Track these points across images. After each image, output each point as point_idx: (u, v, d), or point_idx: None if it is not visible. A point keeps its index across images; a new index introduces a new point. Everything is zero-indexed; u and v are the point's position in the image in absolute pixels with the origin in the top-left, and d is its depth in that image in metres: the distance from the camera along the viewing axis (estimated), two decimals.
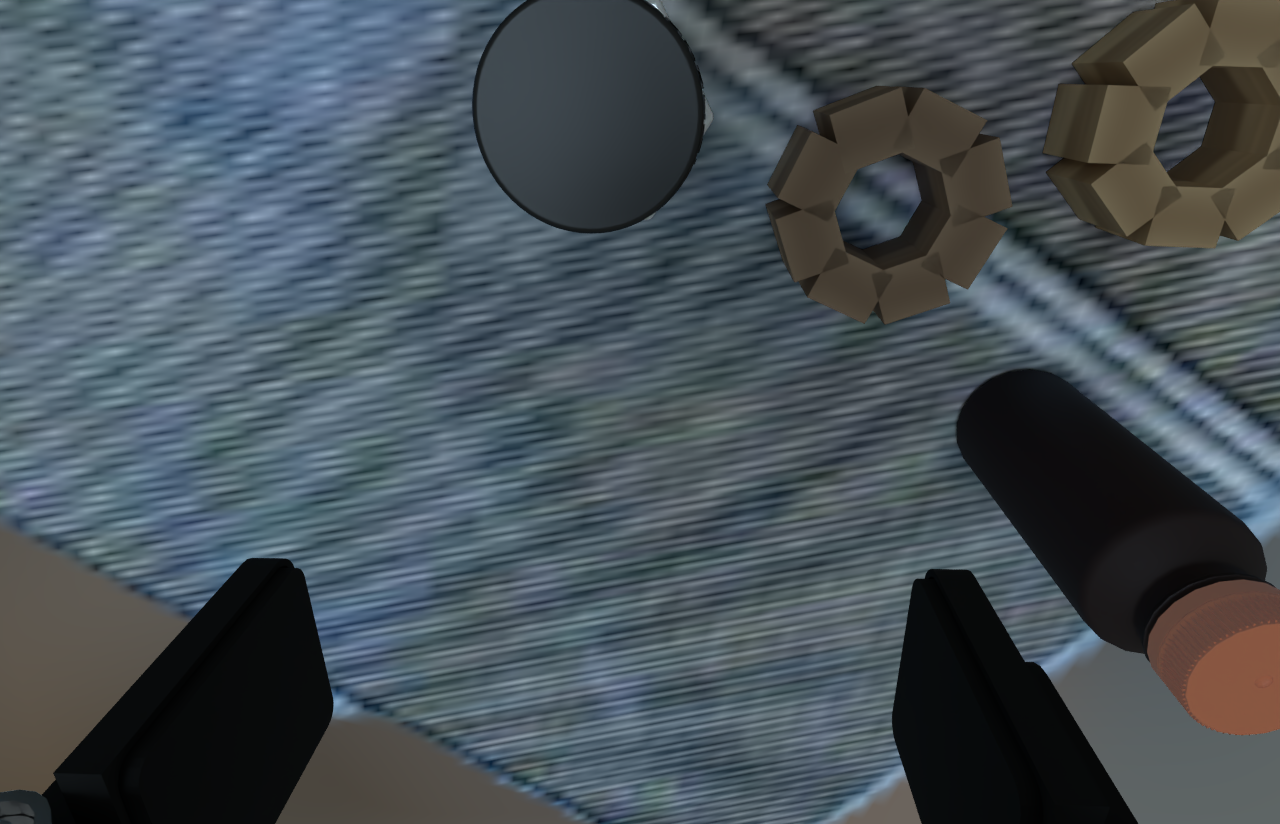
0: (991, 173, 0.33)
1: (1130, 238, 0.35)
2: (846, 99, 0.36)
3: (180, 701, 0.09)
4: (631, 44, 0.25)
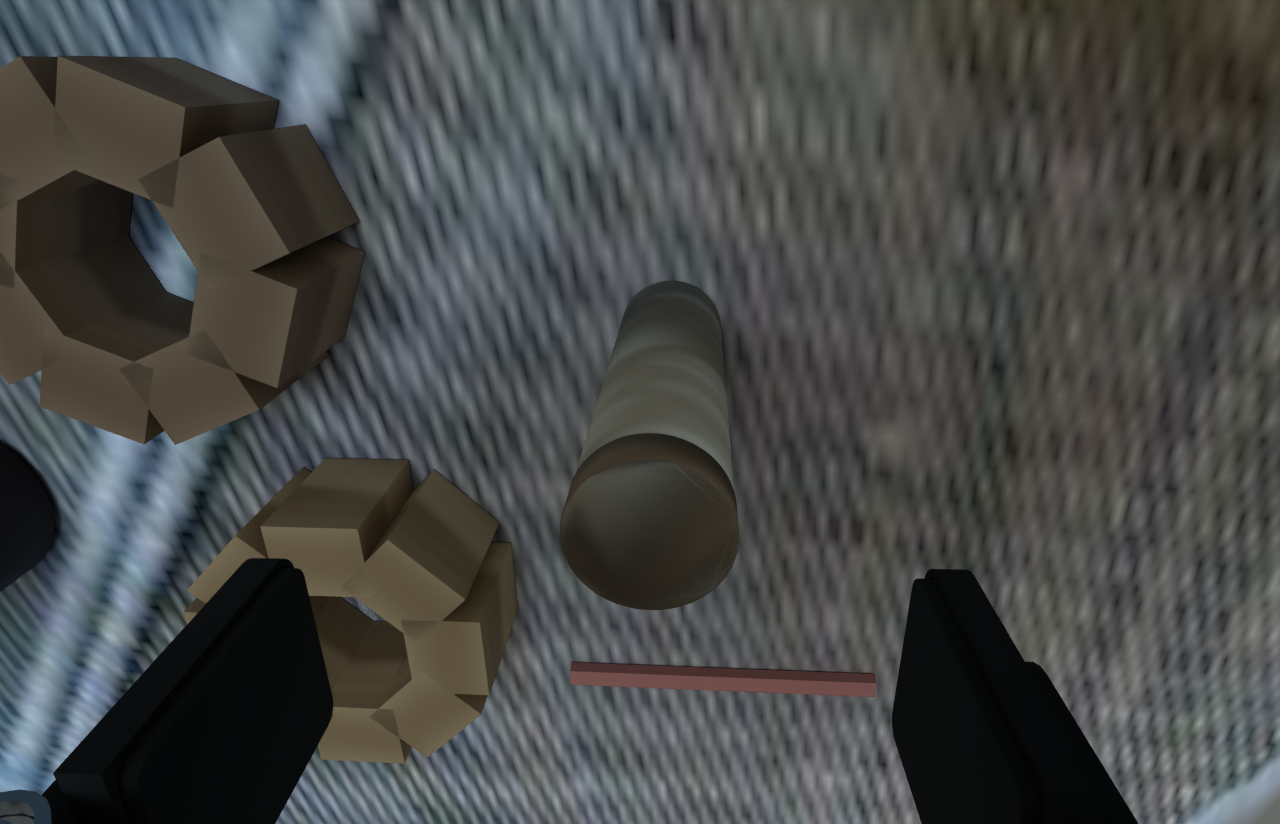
0: (210, 408, 0.22)
1: None
2: (319, 175, 0.22)
3: (180, 701, 0.09)
4: None
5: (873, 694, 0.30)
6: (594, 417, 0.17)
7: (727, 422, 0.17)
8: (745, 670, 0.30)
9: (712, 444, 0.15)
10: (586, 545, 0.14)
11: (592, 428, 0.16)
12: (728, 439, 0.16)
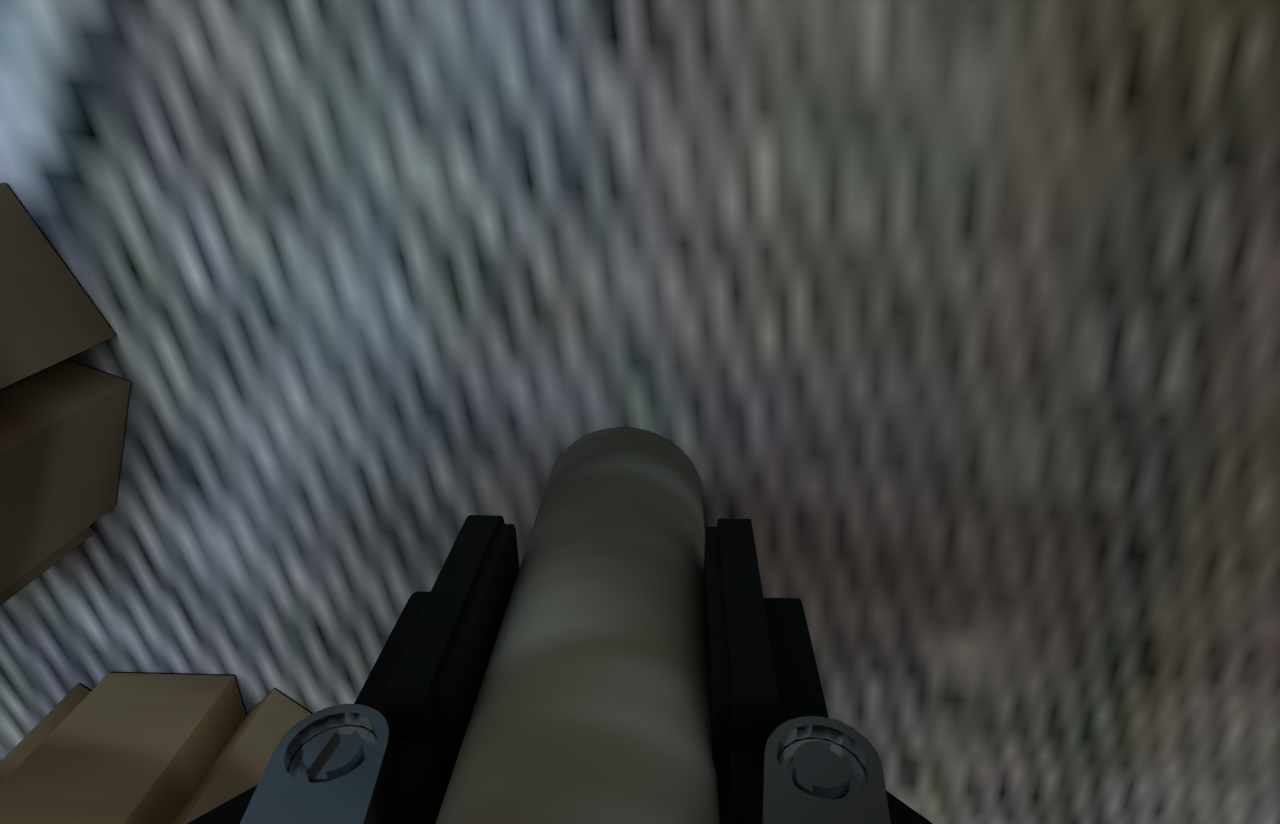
0: None
1: None
2: (24, 269, 0.13)
3: (463, 632, 0.10)
4: None
5: None
6: None
7: None
8: None
9: None
10: None
11: None
12: None
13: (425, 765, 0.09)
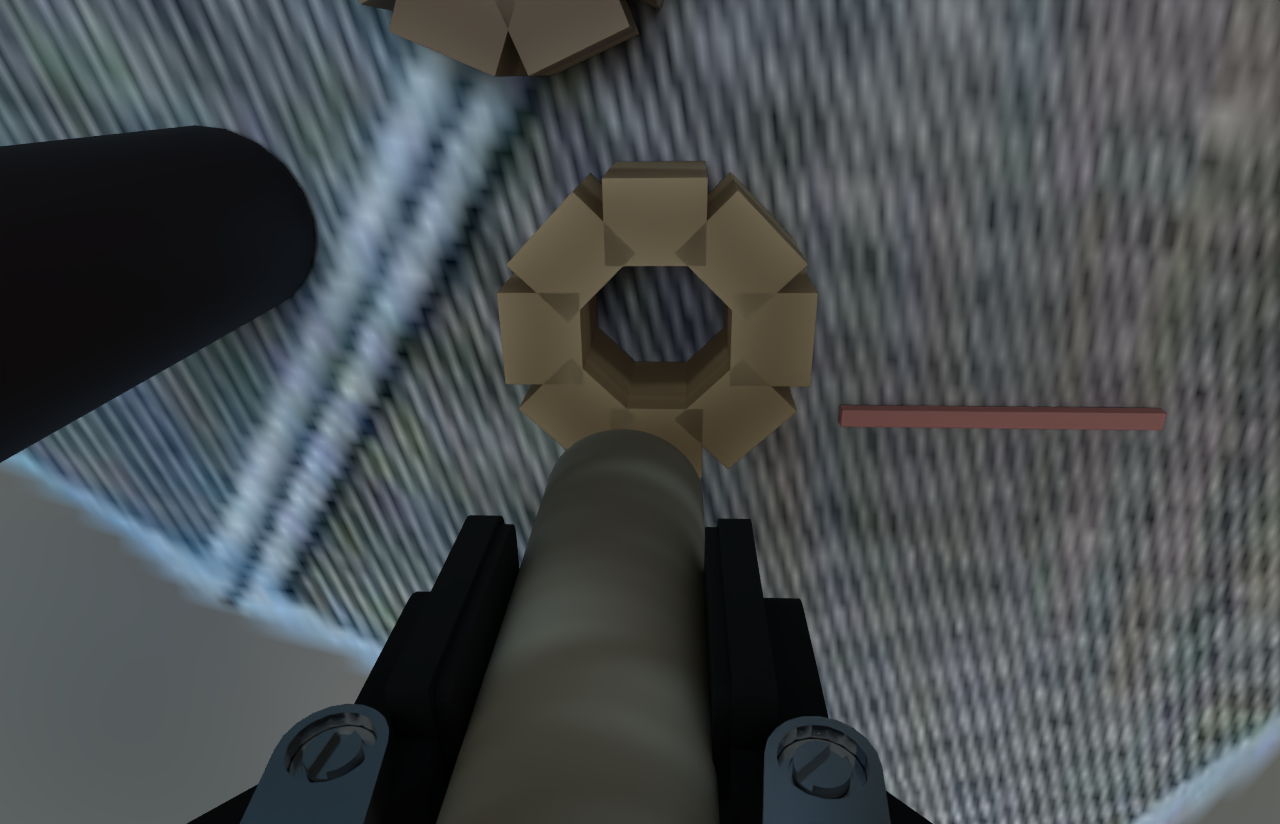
0: (575, 27, 0.21)
1: (507, 282, 0.25)
2: None
3: (463, 632, 0.10)
4: None
5: (1161, 427, 0.29)
6: None
7: None
8: (1023, 407, 0.29)
9: None
10: None
11: None
12: None
13: (425, 765, 0.09)
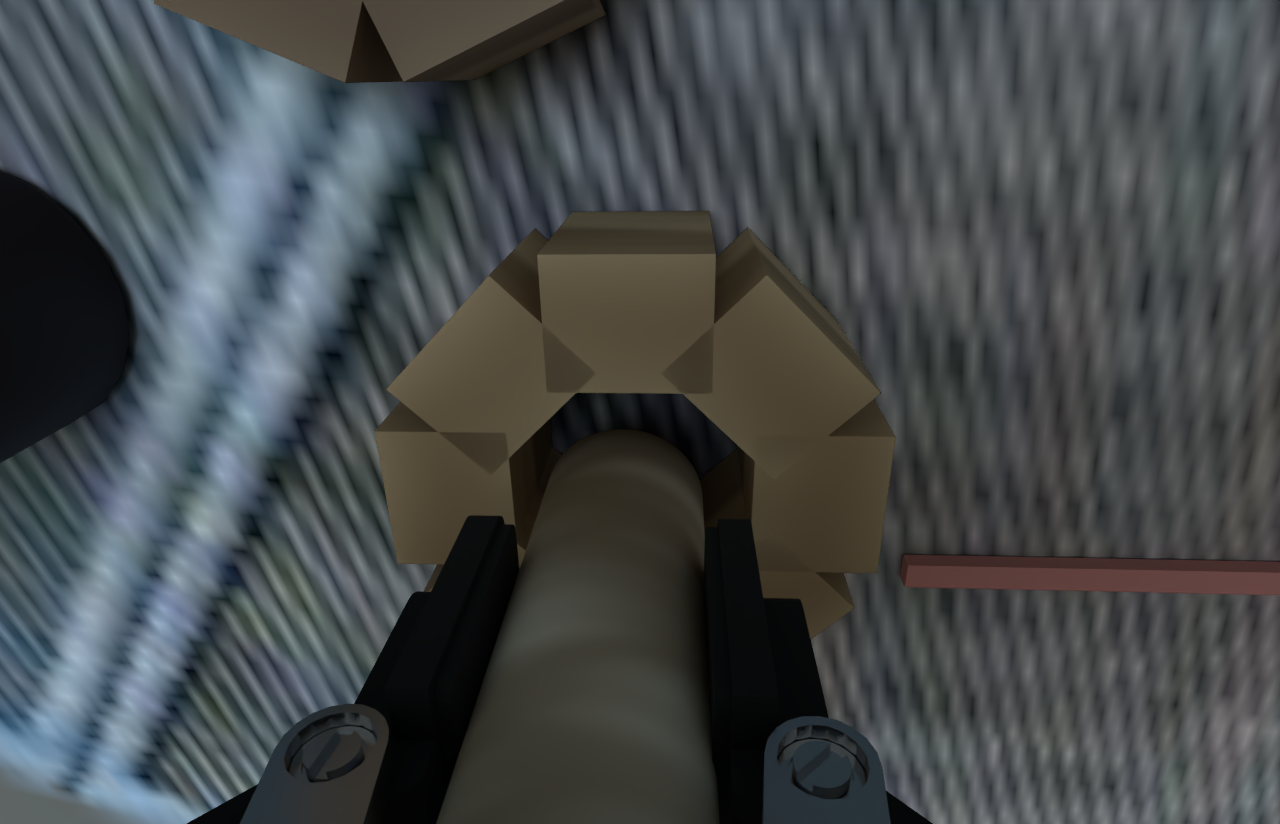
0: None
1: (400, 406, 0.16)
2: None
3: (463, 632, 0.10)
4: None
5: None
6: None
7: None
8: (1171, 560, 0.20)
9: None
10: None
11: None
12: None
13: (425, 765, 0.09)
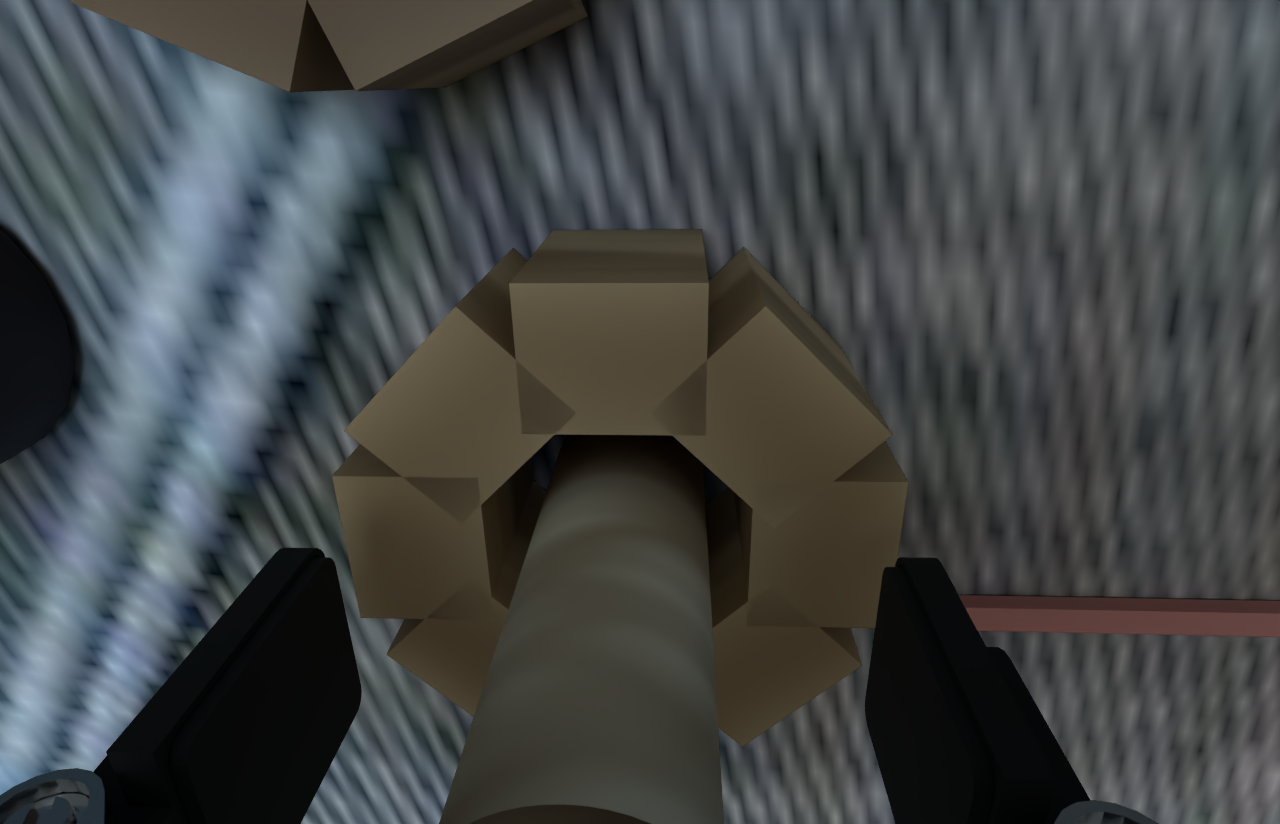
0: None
1: None
2: None
3: (224, 684, 0.09)
4: None
5: None
6: (486, 683, 0.10)
7: (712, 675, 0.10)
8: (1197, 600, 0.19)
9: (685, 790, 0.08)
10: None
11: (476, 722, 0.09)
12: (714, 725, 0.09)
13: None
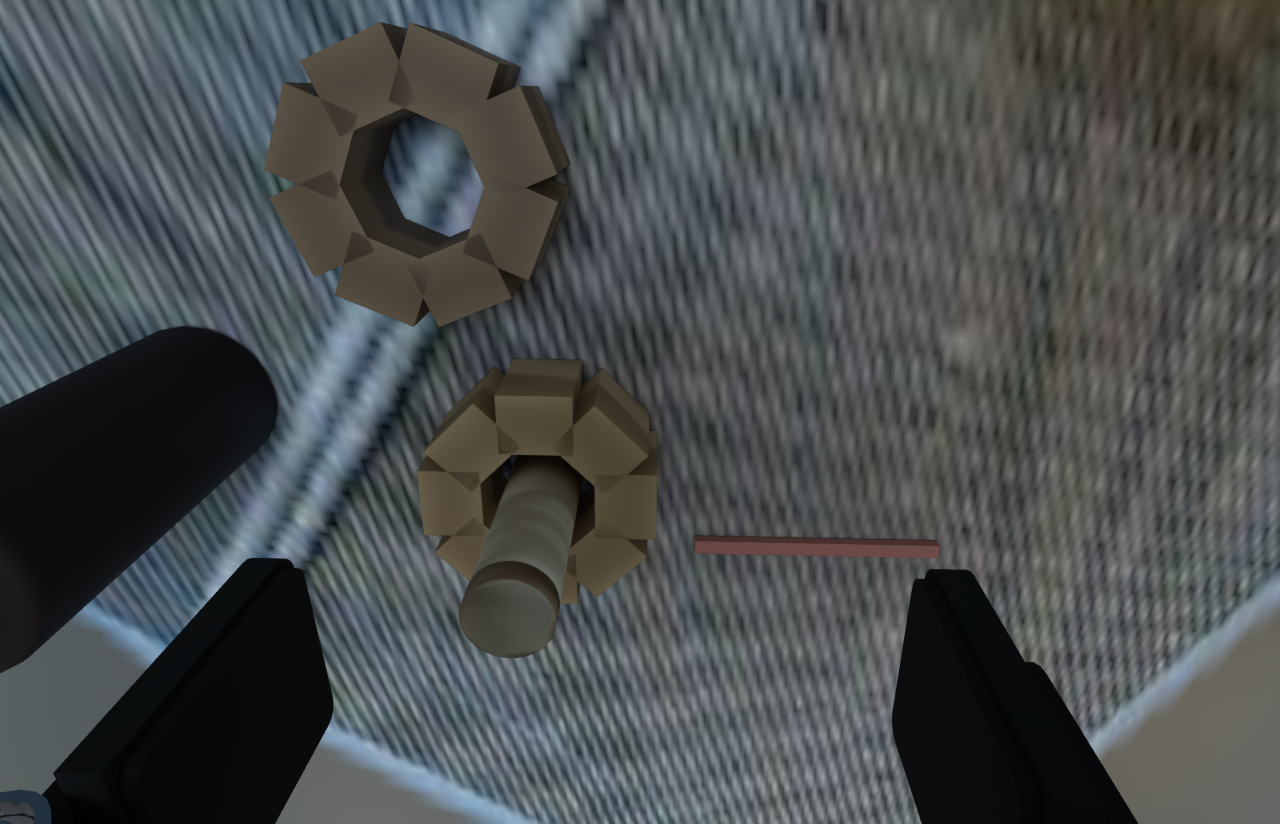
0: (472, 297, 0.29)
1: (426, 457, 0.33)
2: (551, 124, 0.30)
3: (180, 701, 0.09)
4: None
5: (937, 555, 0.37)
6: (485, 541, 0.28)
7: (566, 542, 0.29)
8: (834, 539, 0.38)
9: (547, 563, 0.26)
10: (473, 623, 0.25)
11: (482, 550, 0.27)
12: (563, 555, 0.28)
13: None
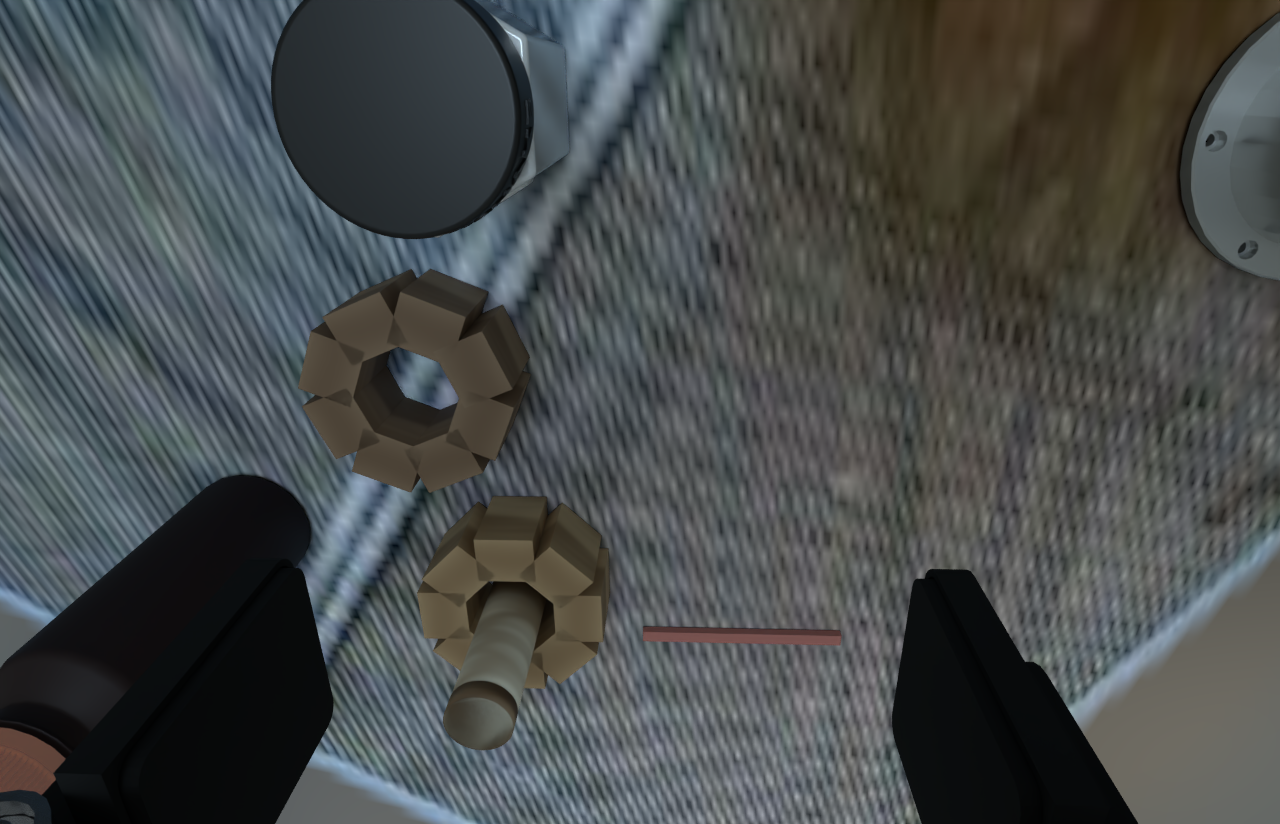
0: (453, 472, 0.38)
1: None
2: (512, 335, 0.39)
3: (180, 701, 0.09)
4: (472, 159, 0.25)
5: (839, 643, 0.46)
6: (465, 657, 0.37)
7: (527, 656, 0.38)
8: (756, 629, 0.46)
9: (508, 680, 0.36)
10: (454, 726, 0.35)
11: (462, 666, 0.37)
12: (523, 668, 0.37)
13: None
